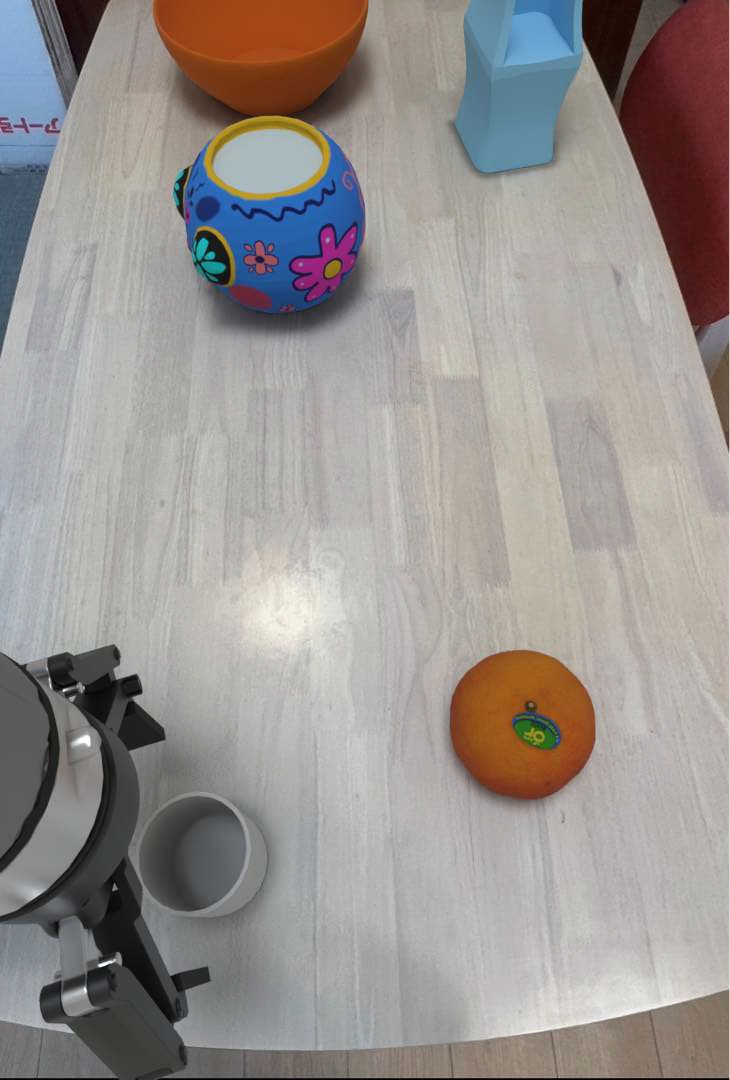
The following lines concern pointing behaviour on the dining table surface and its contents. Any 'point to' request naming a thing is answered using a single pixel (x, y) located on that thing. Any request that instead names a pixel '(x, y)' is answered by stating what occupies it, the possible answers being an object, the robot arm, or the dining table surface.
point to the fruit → (522, 724)
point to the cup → (199, 856)
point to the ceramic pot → (272, 213)
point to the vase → (516, 79)
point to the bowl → (262, 48)
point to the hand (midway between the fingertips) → (163, 853)
